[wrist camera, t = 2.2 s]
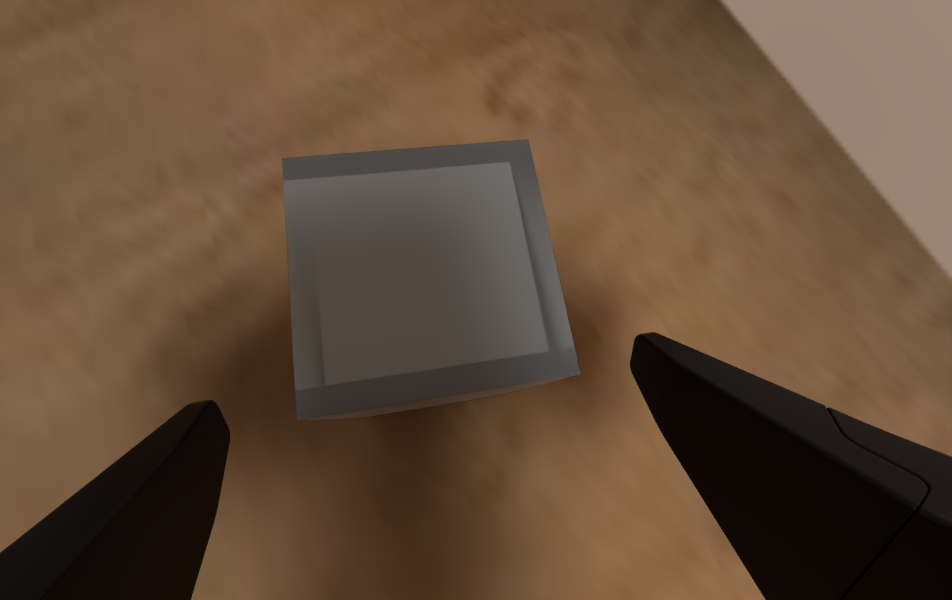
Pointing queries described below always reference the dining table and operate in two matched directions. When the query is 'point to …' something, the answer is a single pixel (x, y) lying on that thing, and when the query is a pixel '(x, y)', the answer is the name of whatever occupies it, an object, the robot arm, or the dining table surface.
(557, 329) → the grey bordered box
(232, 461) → the dining table surface
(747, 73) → the dining table surface
